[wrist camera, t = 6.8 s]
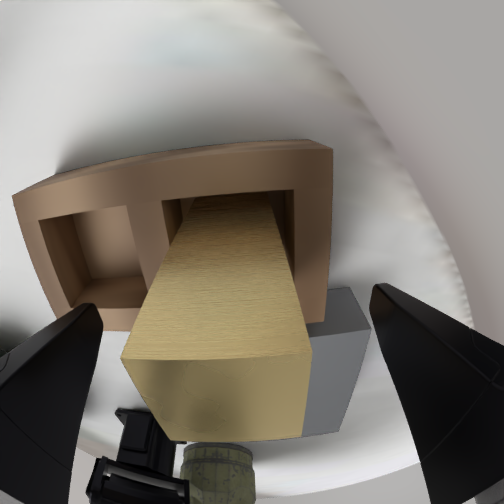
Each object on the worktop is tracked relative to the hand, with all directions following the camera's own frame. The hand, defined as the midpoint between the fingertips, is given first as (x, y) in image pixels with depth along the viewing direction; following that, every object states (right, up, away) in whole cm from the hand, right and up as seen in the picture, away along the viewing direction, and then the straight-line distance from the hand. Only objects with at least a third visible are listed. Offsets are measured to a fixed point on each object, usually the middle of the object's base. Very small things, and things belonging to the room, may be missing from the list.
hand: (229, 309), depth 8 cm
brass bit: (0, +3, +6) cm, 6 cm away
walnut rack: (-3, +3, +7) cm, 8 cm away
